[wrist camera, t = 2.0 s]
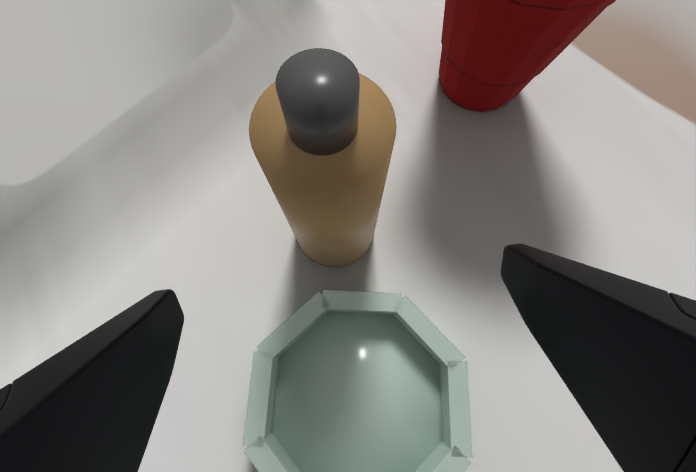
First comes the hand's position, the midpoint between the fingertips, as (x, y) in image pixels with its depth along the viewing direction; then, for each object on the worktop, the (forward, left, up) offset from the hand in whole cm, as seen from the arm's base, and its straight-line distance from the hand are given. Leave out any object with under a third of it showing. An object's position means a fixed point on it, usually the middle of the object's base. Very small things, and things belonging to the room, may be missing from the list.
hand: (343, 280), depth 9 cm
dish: (-4, -1, -12) cm, 12 cm away
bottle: (+5, +1, -12) cm, 13 cm away
